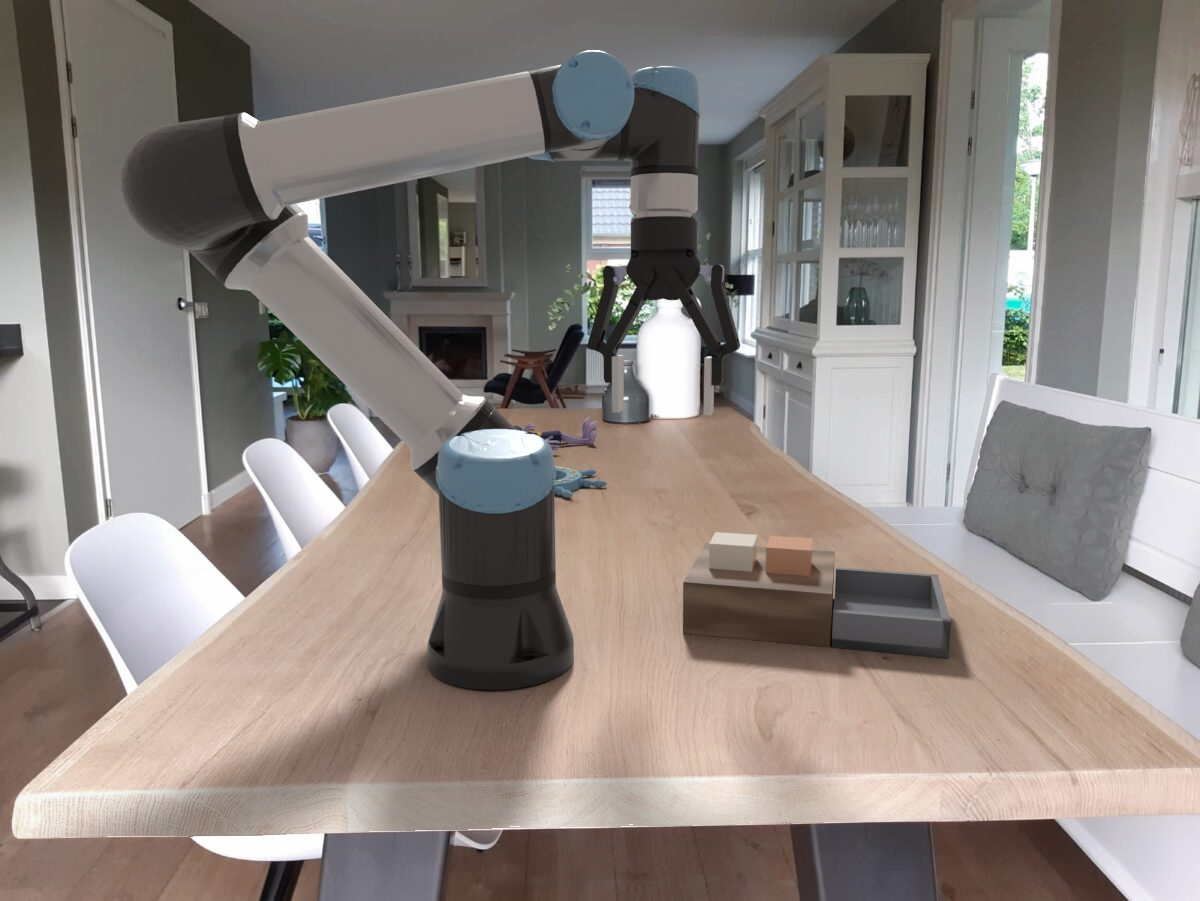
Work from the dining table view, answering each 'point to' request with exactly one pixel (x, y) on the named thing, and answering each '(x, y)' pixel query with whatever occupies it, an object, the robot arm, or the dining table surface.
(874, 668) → the dining table surface
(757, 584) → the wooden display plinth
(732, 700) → the dining table surface
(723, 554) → the off-white block
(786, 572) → the orange square block
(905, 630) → the box
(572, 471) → the decorative ship wheel
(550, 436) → the toy
